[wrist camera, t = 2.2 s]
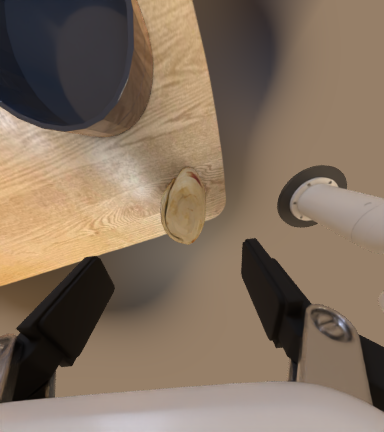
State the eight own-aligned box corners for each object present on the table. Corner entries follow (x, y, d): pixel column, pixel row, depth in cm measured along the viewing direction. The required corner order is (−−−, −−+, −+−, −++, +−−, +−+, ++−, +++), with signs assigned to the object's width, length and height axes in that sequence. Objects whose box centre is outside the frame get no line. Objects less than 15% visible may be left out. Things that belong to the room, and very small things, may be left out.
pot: (129, -77, 19) (75, -282, 10) (165, 128, 29) (154, 118, 20) (-35, -43, 20) (-220, -204, 11) (56, 144, 30) (-1, 141, 21)
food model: (198, 203, 37) (206, 254, 19) (172, 202, 36) (156, 251, 18) (201, 164, 33) (217, 180, 14) (173, 162, 32) (153, 176, 14)
